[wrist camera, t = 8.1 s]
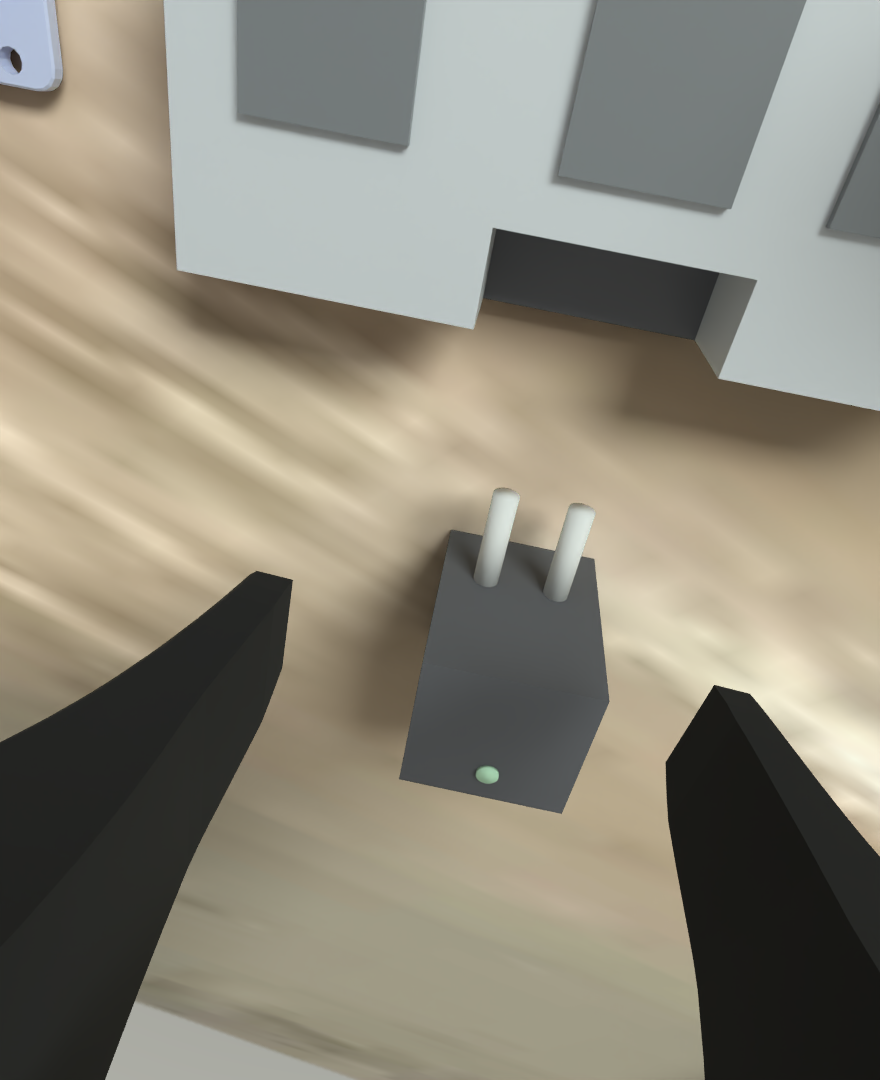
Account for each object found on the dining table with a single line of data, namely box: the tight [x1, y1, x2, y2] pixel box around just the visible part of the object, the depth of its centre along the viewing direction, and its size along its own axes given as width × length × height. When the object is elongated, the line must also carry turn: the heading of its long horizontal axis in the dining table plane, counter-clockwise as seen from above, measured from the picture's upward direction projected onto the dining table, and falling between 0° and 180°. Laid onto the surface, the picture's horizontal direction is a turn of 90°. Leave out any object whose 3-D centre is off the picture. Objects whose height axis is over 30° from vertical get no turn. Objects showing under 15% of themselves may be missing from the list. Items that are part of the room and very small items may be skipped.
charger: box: [399, 488, 609, 814], centre depth 19 cm, size 4×7×6 cm, turn 170°
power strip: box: [164, 0, 880, 411], centre depth 14 cm, size 18×7×4 cm, turn 80°
